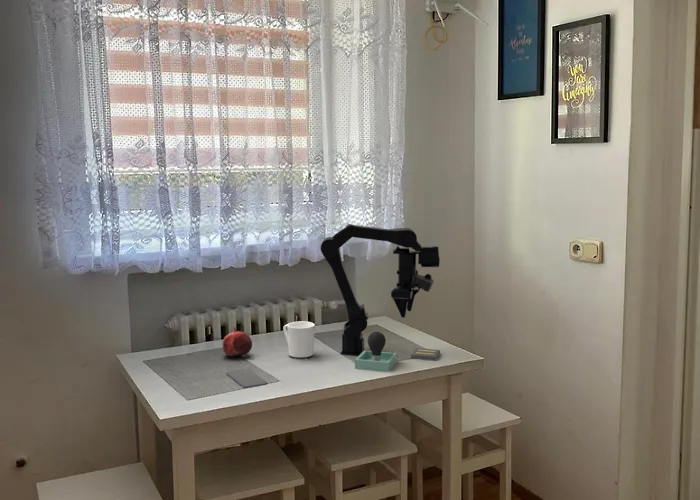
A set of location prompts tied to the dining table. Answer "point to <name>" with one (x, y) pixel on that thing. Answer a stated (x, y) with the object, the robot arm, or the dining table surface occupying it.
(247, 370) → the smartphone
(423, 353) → the pad
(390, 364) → the teal square tray
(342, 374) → the dining table surface
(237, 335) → the fruit
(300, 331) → the mug
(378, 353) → the light bulb
